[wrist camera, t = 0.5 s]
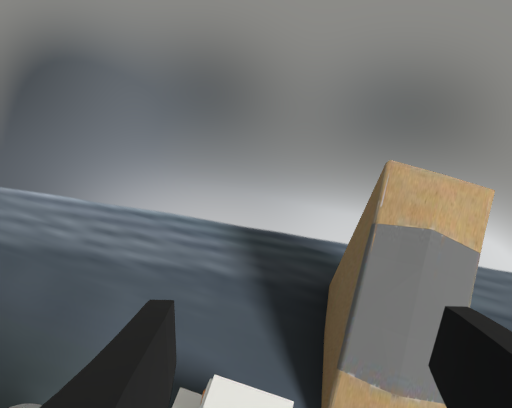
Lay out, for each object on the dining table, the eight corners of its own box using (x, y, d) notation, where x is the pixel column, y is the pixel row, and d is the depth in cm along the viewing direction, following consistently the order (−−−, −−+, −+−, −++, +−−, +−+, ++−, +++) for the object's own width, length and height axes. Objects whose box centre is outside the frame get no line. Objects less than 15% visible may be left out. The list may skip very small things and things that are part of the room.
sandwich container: (314, 450, 24) (414, 318, 15) (326, 283, 37) (385, 157, 28) (440, 491, 24) (619, 380, 15) (409, 308, 36) (497, 187, 27)
